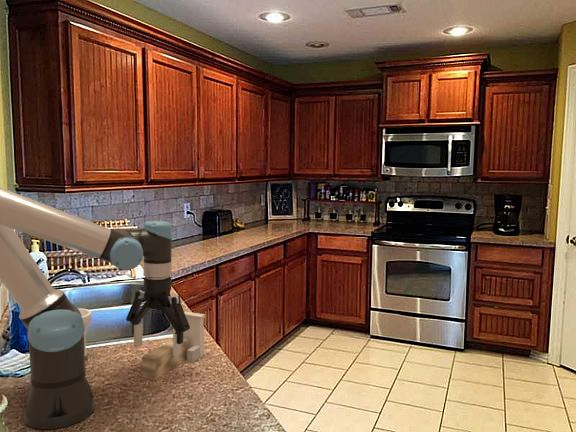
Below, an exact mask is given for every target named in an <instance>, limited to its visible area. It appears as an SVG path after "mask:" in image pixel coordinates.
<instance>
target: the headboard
mask: <svg viewBox="0 0 576 432" xmlns="http://www.w3.org/2000/svg"><path fill="white" fill-rule="evenodd" d="M184 313H185V316H186V318H187V321H188V323H189V326H190V329H189V330H187V331H185V332H184V333H183V339H187V340H188V350H187V360H186V361H187V363H194V362H196V361H197V360H199V359H200V358H202V357H204V356H205V337H204V336H205V335H204V334H205V332H204V331H205V328H204V322H205V321H204V319H206V314H204V313H197V312H191V311H190V312H189V311H184ZM174 332H176V331H175V330H174V328H173V327H172V334H173V333H174Z"/></svg>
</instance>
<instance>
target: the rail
mask: <svg viewBox="0 0 576 432" xmlns="http://www.w3.org/2000/svg"><path fill="white" fill-rule="evenodd" d="M187 350H188V340H187V339H183V343H181V353H180V354H179V355H177V356H173V339H172V340H170V341H168V342H167V343H165V344H163V345H161V346H159V347H157V348H155V349H154V350H152V351H150V352H148V353H146V354H145V355H143V356H141V364H142V365H141V366H142V369H141V373H142V374H141V375H142V378H144V379H148V380H153V381H155V380H157V379H159V378H160V377H162V376H163V375H165V374H166V373H168V372H170V371H171V370H173V369H174V368H177V366H179V365H181V364H182V363H184V362H186V361H187Z"/></svg>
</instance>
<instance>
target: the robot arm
mask: <svg viewBox="0 0 576 432" xmlns="http://www.w3.org/2000/svg"><path fill="white" fill-rule="evenodd" d="M16 231H17V232H21V233H24V234H26V235H30V236H32V237H36V238H38V239H41V240H45V241H47V242H50V243H51V244H56V245H59V246H61V247H65V248H67V249H70V250H72V251H77V252H79V253H81V254H85V255H88V256H90V257H93V258H97V259H98V260H101V261H104V262H106V263H110V264H112V265H113V266H114V267H115V268H118V269H120V270H123V271H129V270H133V269H135V268H137V267H138V266H139V265H140V264H141V263H142V261H143V272H142V273H143V276H144V278H143V289H140V290H137V291H135V292H134V299H133V302H132V305H131V306H130V309H129V311H128V313H127V315H126V319H125V320H126V322H130V323H131V327H132V328H131V330H132V332H131V334H132V336H133V348H135V349H136V348H139V347H140V346H142V345H143V322H142V319H143V318H144V317H145V316H146V315H147V313H148V312H149V311H150V310H156V311H159V312H161V313H162V314H163V315H165V317H166V319H167V320H168V322H169V323H170V325H171V326H172V329H173V328H174V330H175V331H176V332H174V333H173V332H172V340H173V356H177V355H179V354H180V353H181V343H183V333H184V332H185V331H187V330H189V329H190V326H189V323H188V321H187V318H186V316H185V313H184V308H183V306H182V302H181V301H182V300H181V296H180V295H179V294H178V295H176V296H171V290H172V277H171V275H172V255H173V254H172V248H173V246H172V245H173V241H172V240H173V236H172V235H173V234H172V232H173V231H172V225H171V223H170V222H168V221H166V220H165V221H164V220H149V221H148V220H147V221H145V222H143V227H142V228H138V229H111V228H107V227H105V226H103V225H99V224H97V223H95V222H92V221H89V220H87V219H84V218H81V217H79V216H76V215H74V214H71V213H68V212H66V211H64V210H60V209H58V208H55V207H53V206H50V205H47V204H45V203H42V202H40V201H37V200H34V199H32V198H29V197H26V196H23V195H21V194H18V193H16V192H13V191H11V190H8V189H5V188H3V187H0V281H1V282H2V284H3V285H4V287H5V288H6V289H7V291H8V293H9V294H10V295H11V296H12V298H13V299H14V301H15V303H17V305H18V306H19V308H20V312H19V315H18V318H19V319H20V321H21V322H22V324H23V325H24V327H25V328H26V329H27V340H28V352H29V369H30V390H29V393H28V398H27V401H26V404H25V406H24V409H23V419H24V423H25V425H26V426H28V427H30V428H33V429H37V430H55V429H62V428H65V427H69V426H72V425H75V424H77V423H79V422H80V421H83V420H85V419H86V418H88V417H89V416H91V414H92V413H93V412H94V410H95V405H96V403H95V395H94V393H93V392H92V389H91V386H90V383H89V381H88V380H87V377H86V376H87V375H86V357H85V348H84V331H85V326H84V323H83V318H82V315H81V313H80V311H79V309H78V307H77V306H76V305H75V304H74V303H72V302H71V300H70V299H69V298H68V296H67V295H66V294H65V292H64V290H61V289H55V288H54V287H53V286H52V284H51V283H50V281H49V280H48V278H47V277H46V276H45V274H44V273H43V270H42V269H41V268H40V266H39V265H38V264H37V261H35V259H34V257H32V255H31V253H30V252H29V251H28V249H27V247H26V246H25V244H24V243H23V242H22V240H21V239H20V237H19V236H18V234H17V232H16ZM144 300H145V301H144ZM143 301H144V304H143V305H142V303H143ZM141 305H142V307H141Z"/></svg>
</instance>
